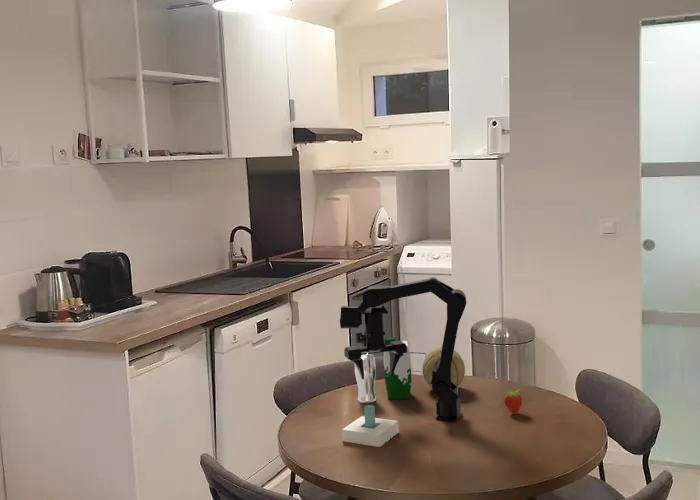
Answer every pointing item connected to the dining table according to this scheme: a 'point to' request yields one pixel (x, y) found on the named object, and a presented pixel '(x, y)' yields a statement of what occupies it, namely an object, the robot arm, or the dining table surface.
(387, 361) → the milk carton
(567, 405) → the dining table surface
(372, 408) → the peg
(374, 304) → the robot arm
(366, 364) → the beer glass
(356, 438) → the socket block
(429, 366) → the cantaloupe
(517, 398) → the fruit
